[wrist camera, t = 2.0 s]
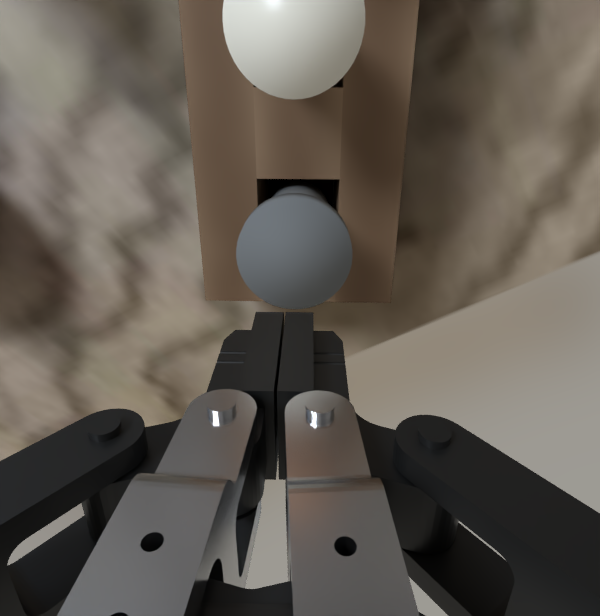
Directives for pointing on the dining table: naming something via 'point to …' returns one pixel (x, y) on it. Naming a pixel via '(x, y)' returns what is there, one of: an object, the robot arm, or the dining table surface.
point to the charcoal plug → (294, 248)
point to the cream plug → (293, 42)
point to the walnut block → (301, 144)
